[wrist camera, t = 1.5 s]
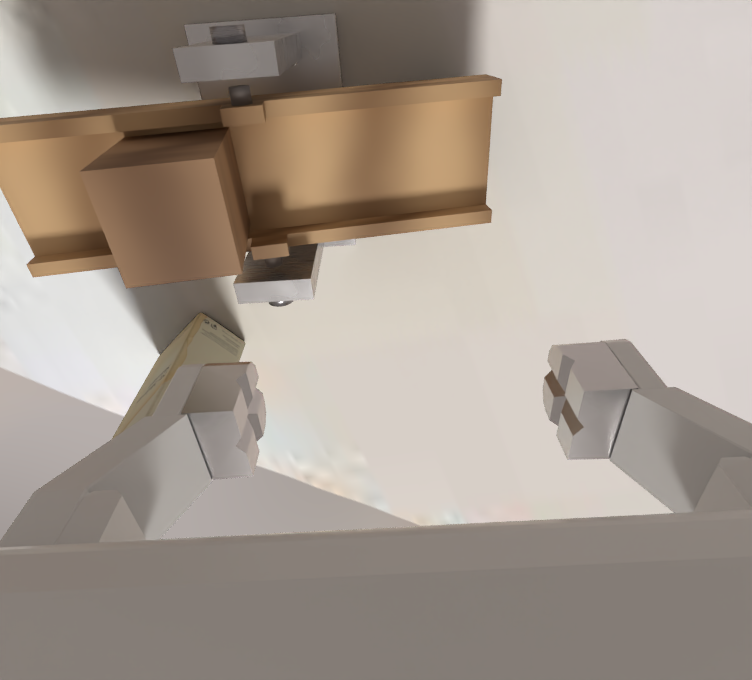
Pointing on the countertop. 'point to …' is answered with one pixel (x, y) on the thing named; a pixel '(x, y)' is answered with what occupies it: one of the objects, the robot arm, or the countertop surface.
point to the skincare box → (183, 363)
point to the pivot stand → (264, 76)
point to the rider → (171, 206)
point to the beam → (272, 164)
